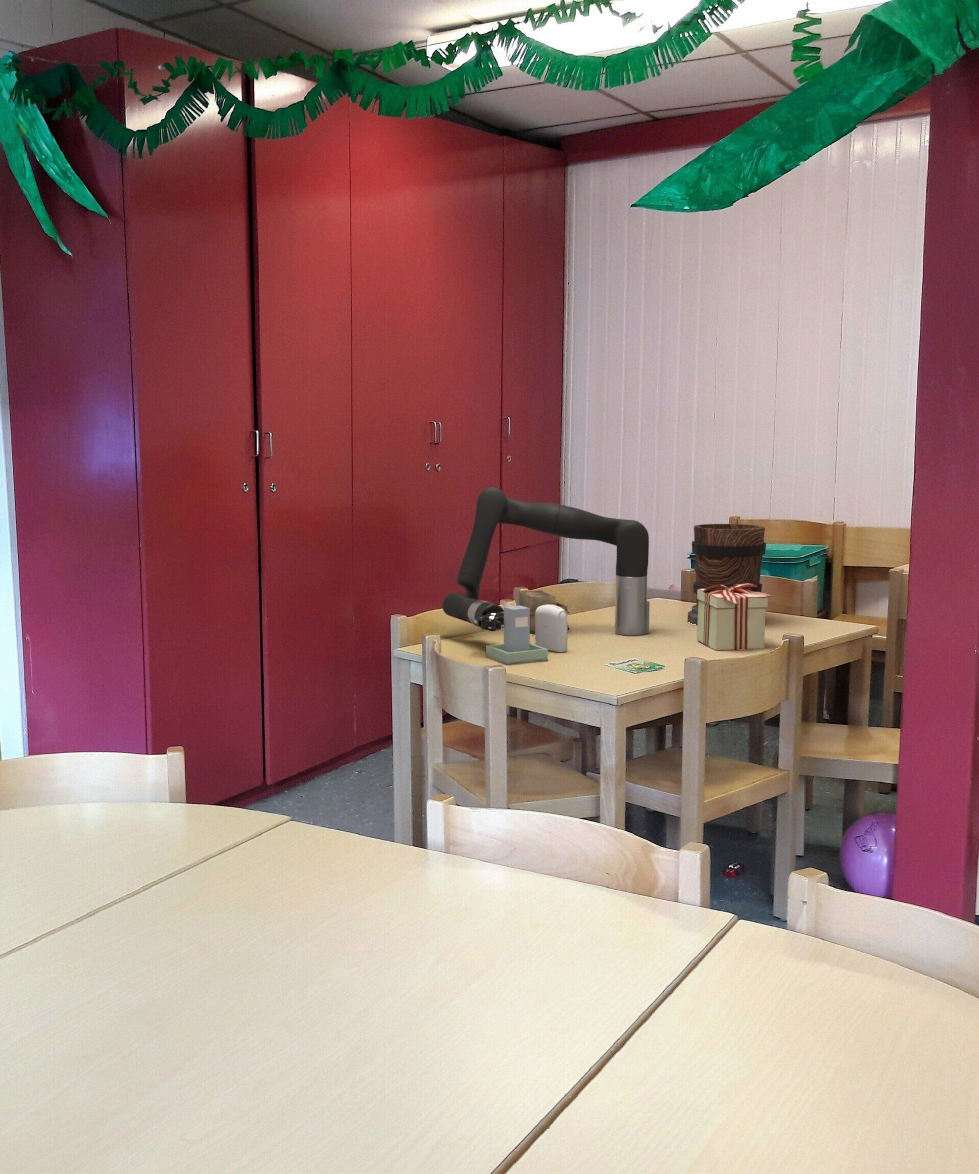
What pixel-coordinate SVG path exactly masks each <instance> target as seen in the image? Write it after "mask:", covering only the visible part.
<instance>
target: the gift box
mask: <svg viewBox="0 0 979 1174" xmlns="http://www.w3.org/2000/svg"><path fill="white" fill-rule="evenodd" d="M750 587H758V586H757V585H753V584H749V583H746V584H737V585H736V586H734V587H732V588H729V587H726V586H724V585H714V586H710V587H708V588H706V589H698V592H697V600H699V601H698V625H697V626H696V627H697V628H696V640H697V641H699V642H700V643H702V644H703V645H705V644H706V645H705V646H707V645H708V646H707V647H709V646H710V647H709V648H711V649H712V648H713V650H714V649H715V650H714V651H737V650H736V649H748V650H761V649H760V648H764V649H765V640H766V639H765V638H766V637H765V634H766V626H765V619H766V620H767V614H766V613H767V609H768V606H769V598H774V597H775V596H773V595H771V594H769V593H765V592H762V591H761V592H756V591H752V590H750ZM731 649H732V650H731Z"/></svg>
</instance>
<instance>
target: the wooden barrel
mask: <svg viewBox="0 0 979 1174" xmlns="http://www.w3.org/2000/svg"><path fill="white" fill-rule="evenodd" d="M765 531H766V527H765V526H763V525H756V524H746V523H743V524H742V523H703V524H697V525H694V526H693V537H694V538H693V539H694V540H693V541H692V542H691V552H692V553H693V554H694V565H695V566H694V569H695V570H694V571H695V581H694V582H693V583H692V584H693V585H692V587H693V588H692V589H693V591H692V592H693V594H695V597H696V599H695V600H696V601H695V602H696V604H694V605H692V606H691V610H690V611H688V612H687V623H688V622H690V623H692V624H696V625H698V601H699V600H697V592H698V589H706V588H708V587H710V586H714V585H724V586H726V587H729V588H732V587H734V586H736V585H737V584H746V583H749V584H753V585H757V586H758V587H750V590H752V591H756V592H762V590H763V589H762V588H763V584H762V583H760V582H761V581H760V580H761V572H762V570H761V569H762V561H763V555H765V554H766V550H767V542H764V541H765ZM765 624H766V625H767V618H766V619H765Z"/></svg>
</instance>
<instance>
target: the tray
mask: <svg viewBox="0 0 979 1174" xmlns="http://www.w3.org/2000/svg"><path fill="white" fill-rule="evenodd" d="M485 656H486V657H487V658H489V659H492V660H494V661H496V662H499V663H501V664H503V665H506V666H511V665H519V664H529V663H536V662H537V663H538V661H539V662H547V661H546V660H548V659H549V650H548V649H546V648H543V647H540V646H537V645H535V644H534V643H532V642H530V651H521V652H511V653H508V652H505V651H504V643H497V644H496V643H495V644H488V645H487V644H486V645H485ZM548 661H549V660H548Z"/></svg>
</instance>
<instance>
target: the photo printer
mask: <svg viewBox="0 0 979 1174" xmlns="http://www.w3.org/2000/svg"><path fill="white" fill-rule="evenodd" d="M567 622H568V613H566V611H565V610H564V609H562V608H560V607H558V606H555V605H542V606H539V607H538V608H537V609H536V612H535V636H534V638H535V639H534V640H535V641H534V643H535V644H534V645H537V646H540V647H543V648H546V649H548V651H551V652H556V653H565V652H567V650H568V633H567Z"/></svg>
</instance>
